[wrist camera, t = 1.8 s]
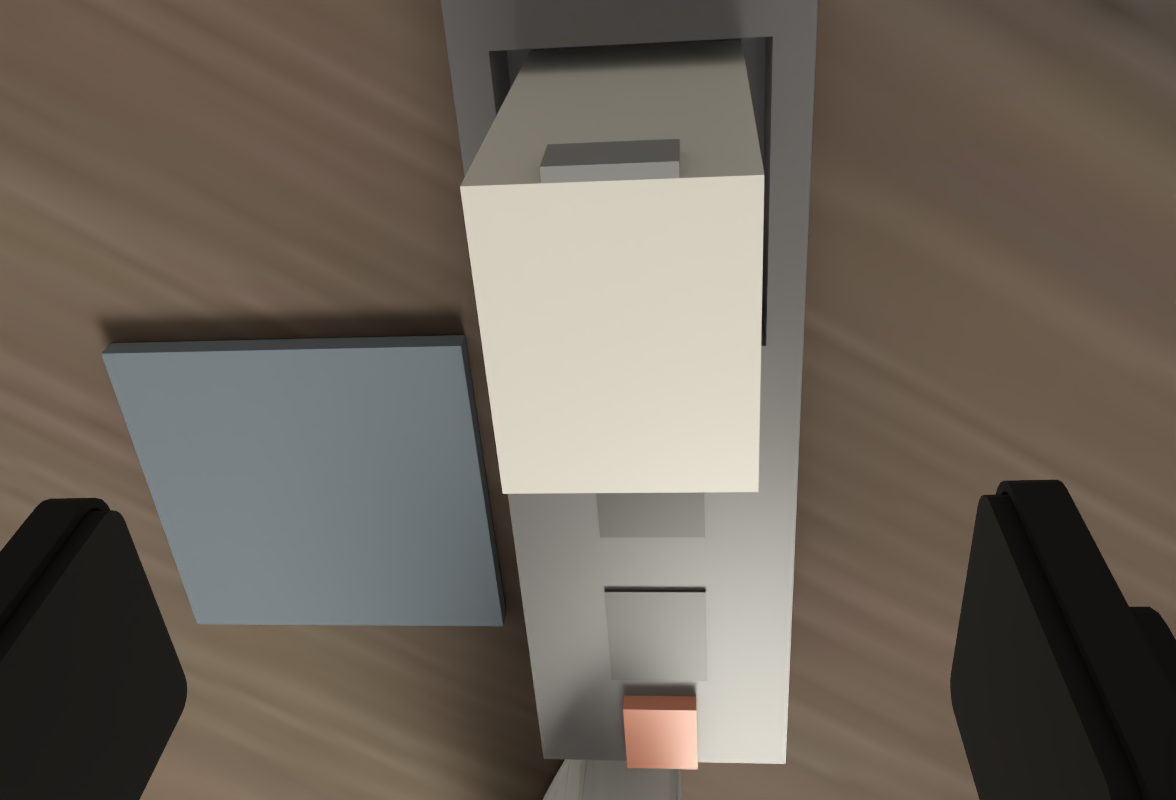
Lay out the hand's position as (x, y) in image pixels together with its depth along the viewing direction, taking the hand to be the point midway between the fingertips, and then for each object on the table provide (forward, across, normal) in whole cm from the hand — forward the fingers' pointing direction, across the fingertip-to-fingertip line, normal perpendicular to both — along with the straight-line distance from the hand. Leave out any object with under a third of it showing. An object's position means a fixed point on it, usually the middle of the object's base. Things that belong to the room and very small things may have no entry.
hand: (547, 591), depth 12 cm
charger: (+14, -1, 0) cm, 14 cm away
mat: (+16, +9, +10) cm, 21 cm away
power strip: (+16, -1, +5) cm, 17 cm away
